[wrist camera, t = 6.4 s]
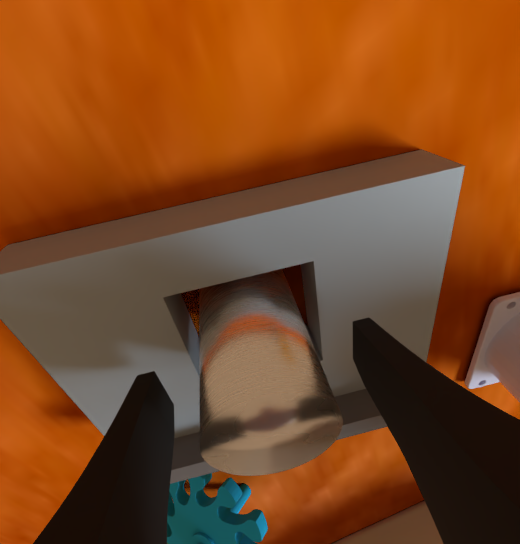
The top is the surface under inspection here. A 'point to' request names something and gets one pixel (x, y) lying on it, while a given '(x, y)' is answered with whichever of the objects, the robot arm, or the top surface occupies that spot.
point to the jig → (231, 266)
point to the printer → (399, 529)
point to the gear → (212, 514)
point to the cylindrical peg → (260, 380)
